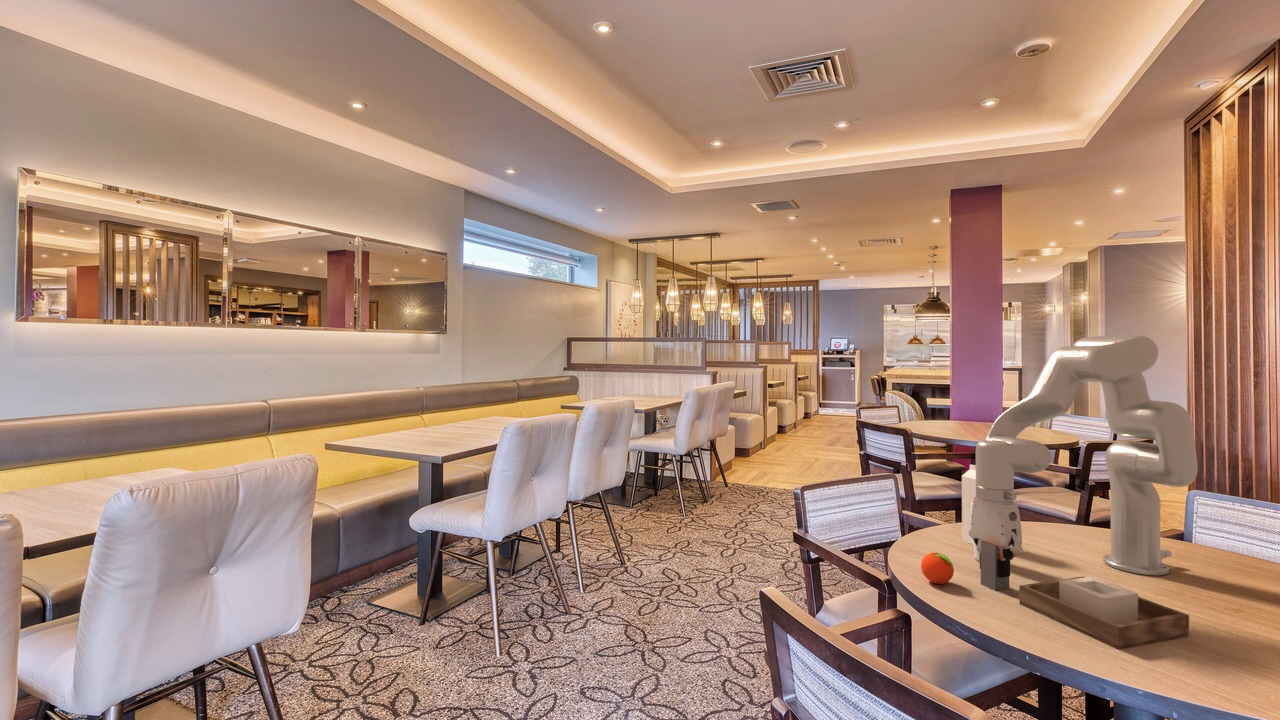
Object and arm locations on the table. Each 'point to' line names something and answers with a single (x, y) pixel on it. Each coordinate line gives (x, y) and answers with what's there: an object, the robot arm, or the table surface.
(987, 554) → the plug
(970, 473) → the milk
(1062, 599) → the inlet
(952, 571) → the clementine
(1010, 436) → the robot arm
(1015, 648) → the table surface
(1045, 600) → the crate
